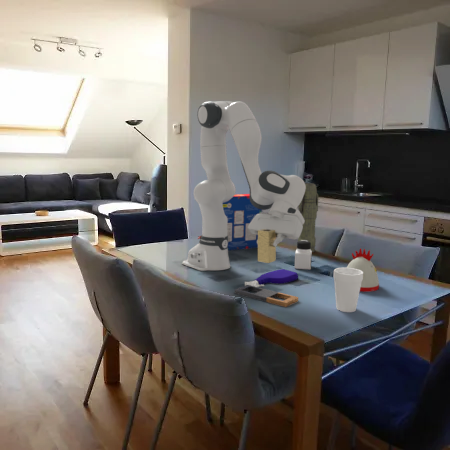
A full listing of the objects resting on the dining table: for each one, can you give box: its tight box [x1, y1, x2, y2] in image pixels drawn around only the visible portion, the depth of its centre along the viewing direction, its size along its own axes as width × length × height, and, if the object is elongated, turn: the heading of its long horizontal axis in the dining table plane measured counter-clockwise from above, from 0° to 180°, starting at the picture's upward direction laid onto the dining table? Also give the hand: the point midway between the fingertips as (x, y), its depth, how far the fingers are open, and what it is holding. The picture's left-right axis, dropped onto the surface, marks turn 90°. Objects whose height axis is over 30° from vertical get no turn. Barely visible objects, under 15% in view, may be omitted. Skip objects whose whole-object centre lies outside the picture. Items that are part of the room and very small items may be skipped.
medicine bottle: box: [294, 240, 313, 270], centre depth 207 cm, size 7×7×12 cm
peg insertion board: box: [234, 285, 299, 308], centre depth 165 cm, size 22×8×2 cm, turn 51°
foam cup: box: [333, 267, 363, 313], centre depth 154 cm, size 10×9×13 cm
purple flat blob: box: [244, 268, 299, 288], centre depth 184 cm, size 3×11×24 cm
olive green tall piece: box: [297, 182, 319, 253], centre depth 237 cm, size 9×12×35 cm
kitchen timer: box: [345, 248, 380, 293], centre depth 180 cm, size 14×14×15 cm
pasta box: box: [223, 193, 263, 252], centre depth 242 cm, size 28×8×28 cm, turn 117°
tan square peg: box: [257, 229, 277, 264], centre depth 162 cm, size 4×4×11 cm
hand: (265, 244), depth 162 cm, fingers closed on tan square peg, 4 cm apart
